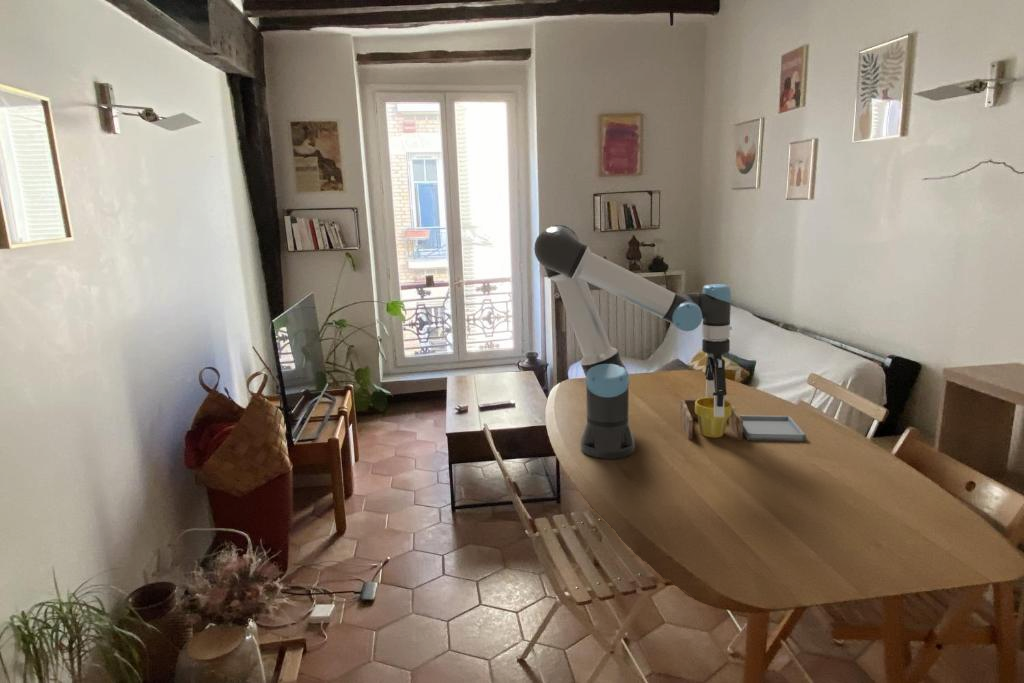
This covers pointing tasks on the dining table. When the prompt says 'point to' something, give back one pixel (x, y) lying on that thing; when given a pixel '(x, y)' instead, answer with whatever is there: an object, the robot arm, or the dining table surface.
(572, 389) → the dining table surface
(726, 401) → the plant pot
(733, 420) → the box
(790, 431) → the tray
